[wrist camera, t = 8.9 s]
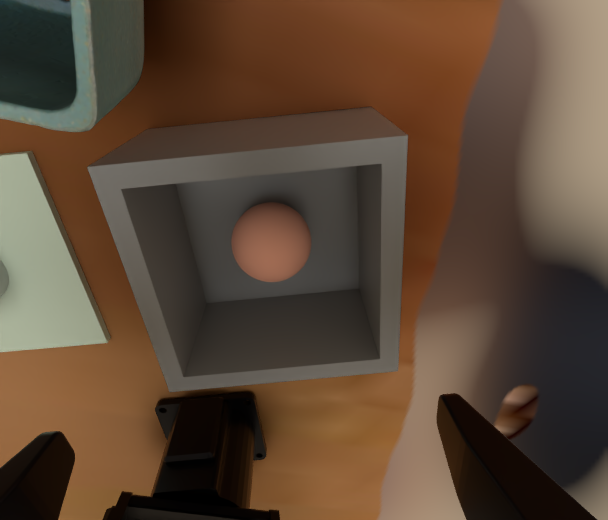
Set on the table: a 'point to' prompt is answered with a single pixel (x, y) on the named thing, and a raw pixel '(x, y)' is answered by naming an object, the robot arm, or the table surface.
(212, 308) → the storage box
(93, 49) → the flower pot
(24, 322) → the lid
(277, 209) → the visible ball
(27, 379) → the table surface
